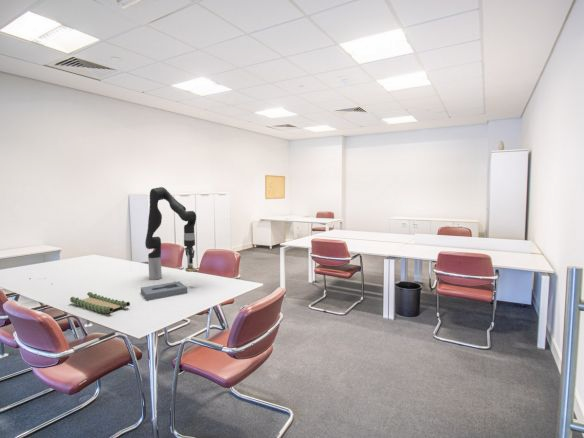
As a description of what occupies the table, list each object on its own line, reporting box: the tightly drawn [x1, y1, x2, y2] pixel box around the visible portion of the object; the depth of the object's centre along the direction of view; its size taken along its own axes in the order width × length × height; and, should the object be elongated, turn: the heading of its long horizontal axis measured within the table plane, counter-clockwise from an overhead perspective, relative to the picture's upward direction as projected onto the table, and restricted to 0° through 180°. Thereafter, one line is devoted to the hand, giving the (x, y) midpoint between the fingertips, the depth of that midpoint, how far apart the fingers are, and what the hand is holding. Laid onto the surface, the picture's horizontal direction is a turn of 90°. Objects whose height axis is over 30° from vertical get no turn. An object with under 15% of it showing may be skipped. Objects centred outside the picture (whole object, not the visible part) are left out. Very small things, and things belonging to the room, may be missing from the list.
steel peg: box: [185, 254, 196, 273], centre depth 234 cm, size 6×6×12 cm
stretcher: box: [69, 291, 131, 314], centre depth 198 cm, size 41×14×5 cm, turn 61°
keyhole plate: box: [140, 280, 188, 301], centre depth 223 cm, size 18×26×4 cm
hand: (190, 262), depth 234 cm, fingers closed on steel peg, 3 cm apart
